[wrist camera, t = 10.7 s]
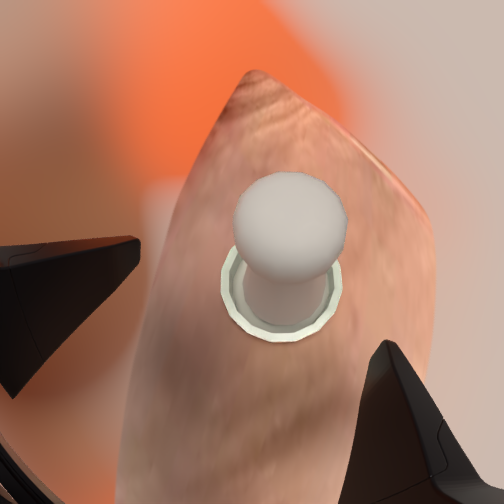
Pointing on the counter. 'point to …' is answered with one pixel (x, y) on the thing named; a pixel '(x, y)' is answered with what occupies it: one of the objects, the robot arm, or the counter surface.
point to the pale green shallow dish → (262, 329)
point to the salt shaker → (288, 244)
